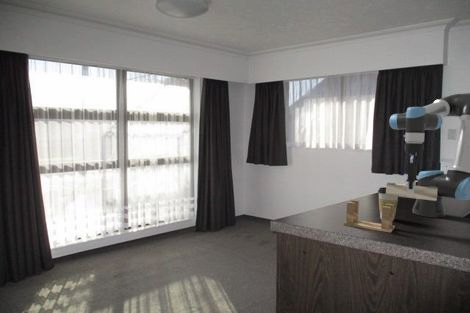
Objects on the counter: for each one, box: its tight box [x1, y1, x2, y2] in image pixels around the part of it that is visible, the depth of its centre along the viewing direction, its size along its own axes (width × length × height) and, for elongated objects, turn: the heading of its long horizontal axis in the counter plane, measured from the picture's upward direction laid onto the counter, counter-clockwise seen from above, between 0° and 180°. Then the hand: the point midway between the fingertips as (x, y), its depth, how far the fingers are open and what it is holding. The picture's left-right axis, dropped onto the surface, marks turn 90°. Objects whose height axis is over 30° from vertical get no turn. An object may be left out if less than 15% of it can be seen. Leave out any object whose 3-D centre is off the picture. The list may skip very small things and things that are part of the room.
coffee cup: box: [377, 186, 399, 221], centre depth 179 cm, size 10×10×15 cm
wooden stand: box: [343, 199, 395, 233], centre depth 164 cm, size 9×20×10 cm, turn 57°
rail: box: [385, 182, 438, 201], centre depth 161 cm, size 4×20×5 cm, turn 58°
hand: (411, 195), depth 161 cm, fingers closed on rail, 4 cm apart
